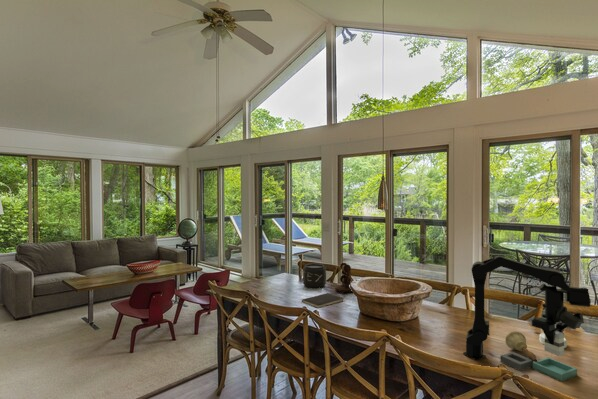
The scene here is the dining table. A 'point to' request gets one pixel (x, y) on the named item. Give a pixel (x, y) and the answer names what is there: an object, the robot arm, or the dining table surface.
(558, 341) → the block
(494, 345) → the dining table surface
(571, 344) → the dining table surface
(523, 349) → the hand bell
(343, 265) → the brown carved figurine
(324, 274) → the lettered dark canister
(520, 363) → the socket block
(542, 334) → the coaster
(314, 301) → the hardcover book
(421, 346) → the dining table surface
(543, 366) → the parts tray
